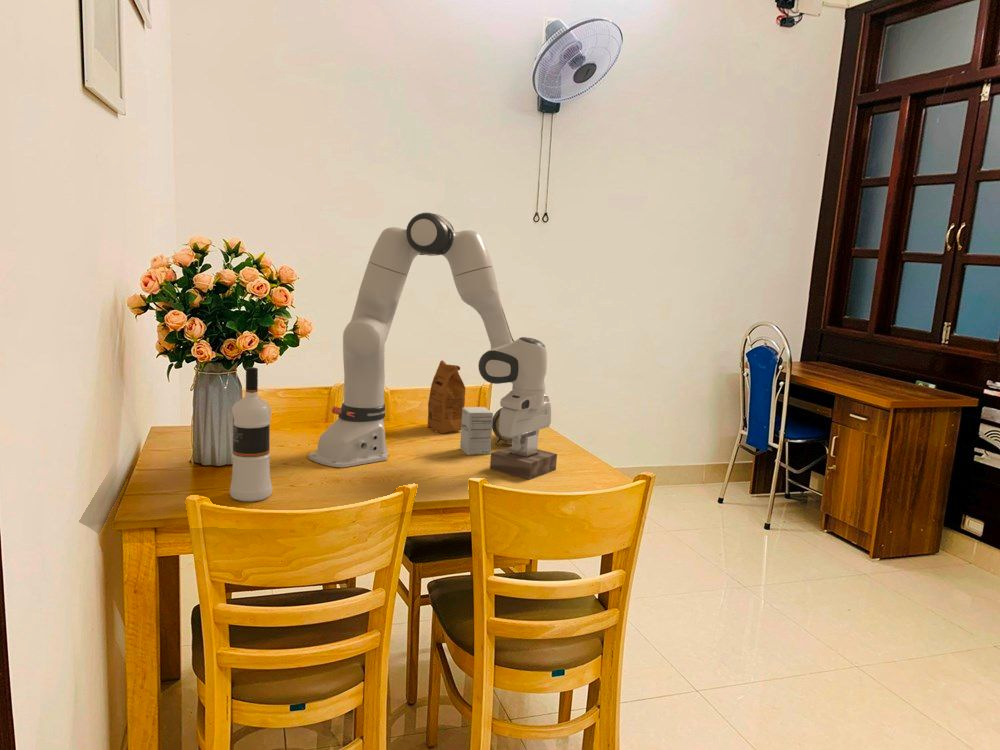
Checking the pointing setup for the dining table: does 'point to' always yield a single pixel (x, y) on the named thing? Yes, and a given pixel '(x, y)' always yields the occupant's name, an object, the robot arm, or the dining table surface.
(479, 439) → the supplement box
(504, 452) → the pocket block
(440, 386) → the coffee package
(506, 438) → the alarm clock
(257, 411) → the vodka
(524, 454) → the grey peg
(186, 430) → the dining table surface
